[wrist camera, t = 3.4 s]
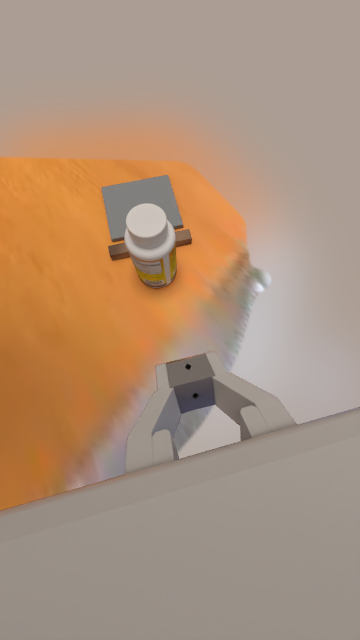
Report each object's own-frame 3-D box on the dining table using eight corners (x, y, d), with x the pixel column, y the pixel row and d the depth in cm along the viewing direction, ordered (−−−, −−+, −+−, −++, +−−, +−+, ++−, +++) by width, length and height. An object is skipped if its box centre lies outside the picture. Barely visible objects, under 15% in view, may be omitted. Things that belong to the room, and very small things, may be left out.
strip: (112, 260, 29) (109, 255, 28) (110, 251, 30) (108, 246, 29) (191, 243, 30) (191, 238, 29) (188, 234, 31) (188, 229, 29)
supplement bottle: (163, 248, 30) (156, 187, 20) (184, 276, 29) (186, 226, 19) (131, 266, 29) (106, 212, 19) (150, 296, 28) (135, 254, 18)
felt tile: (112, 241, 30) (111, 239, 30) (102, 190, 33) (101, 187, 32) (182, 227, 31) (183, 224, 30) (168, 178, 33) (167, 174, 33)
